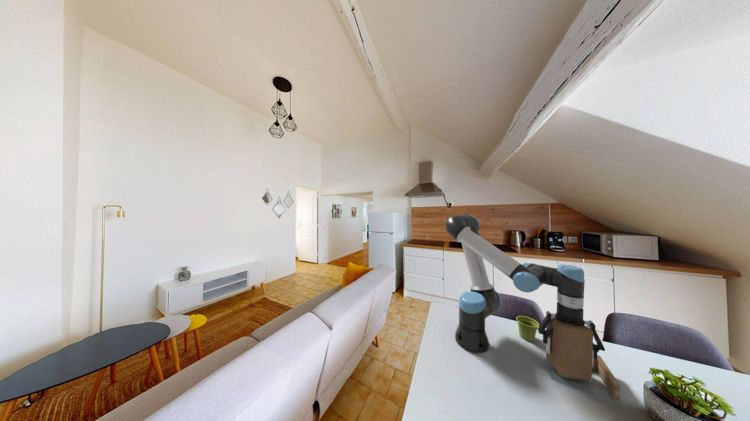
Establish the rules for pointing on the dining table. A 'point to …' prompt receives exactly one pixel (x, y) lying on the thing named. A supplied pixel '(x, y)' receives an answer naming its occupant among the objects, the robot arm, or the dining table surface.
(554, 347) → the wooden block
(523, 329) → the plant pot
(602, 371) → the wooden angle piece
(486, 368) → the dining table surface
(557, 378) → the mat
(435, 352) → the dining table surface
